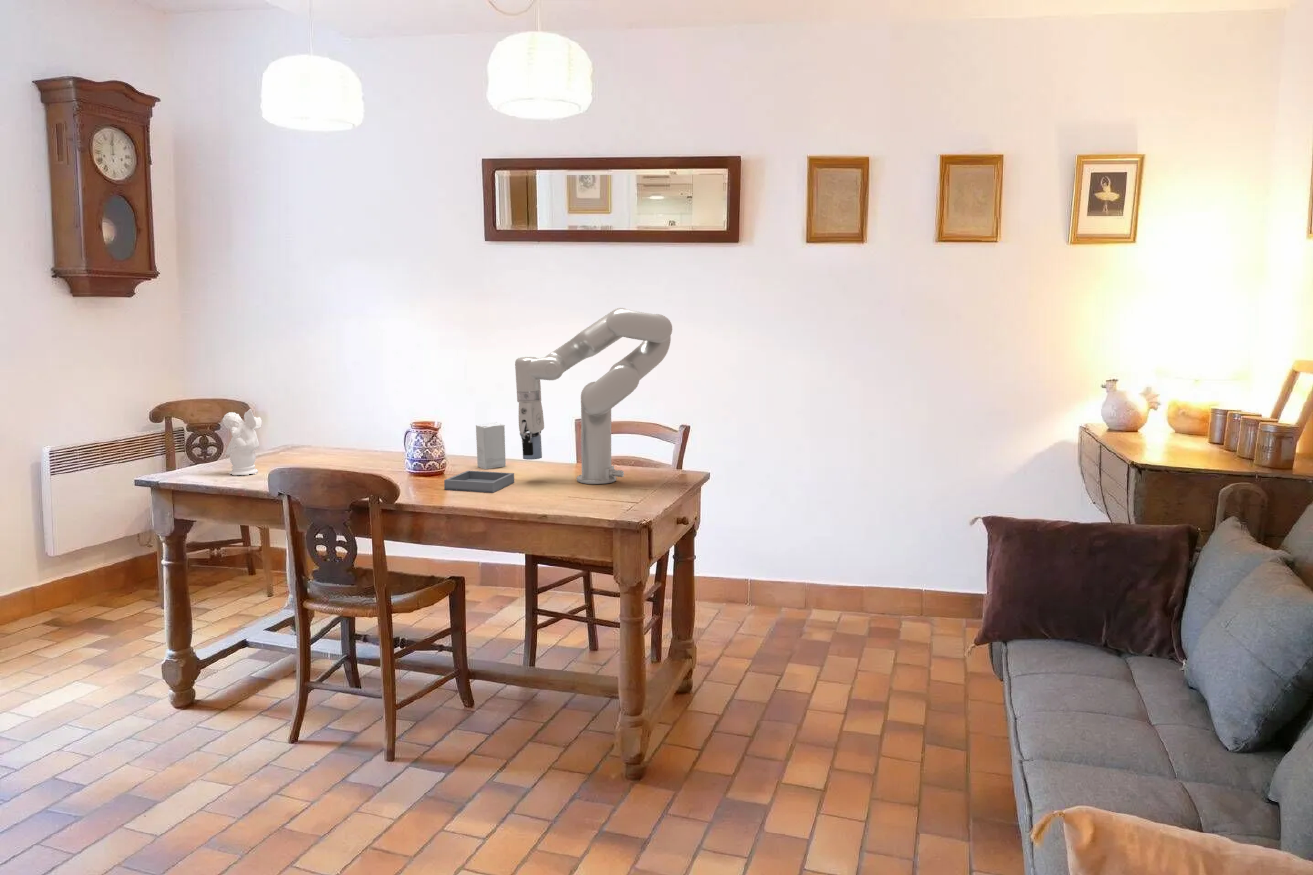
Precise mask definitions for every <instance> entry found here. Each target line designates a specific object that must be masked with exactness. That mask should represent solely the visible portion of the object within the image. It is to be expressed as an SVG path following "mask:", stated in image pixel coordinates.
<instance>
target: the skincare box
mask: <svg viewBox="0 0 1313 875" xmlns="http://www.w3.org/2000/svg"><path fill="white" fill-rule="evenodd" d="M505 426H506V425H505V424H503V423H498V422H489V423H484V424H476V425H475V435H476V437H475V438H476V440H475V441H476V459H477V464H476V465H477V468H480V469H483V470H489V469H496V468H502V467H506V466H507V465H506V436H505V432H506V431H505Z"/></svg>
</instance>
